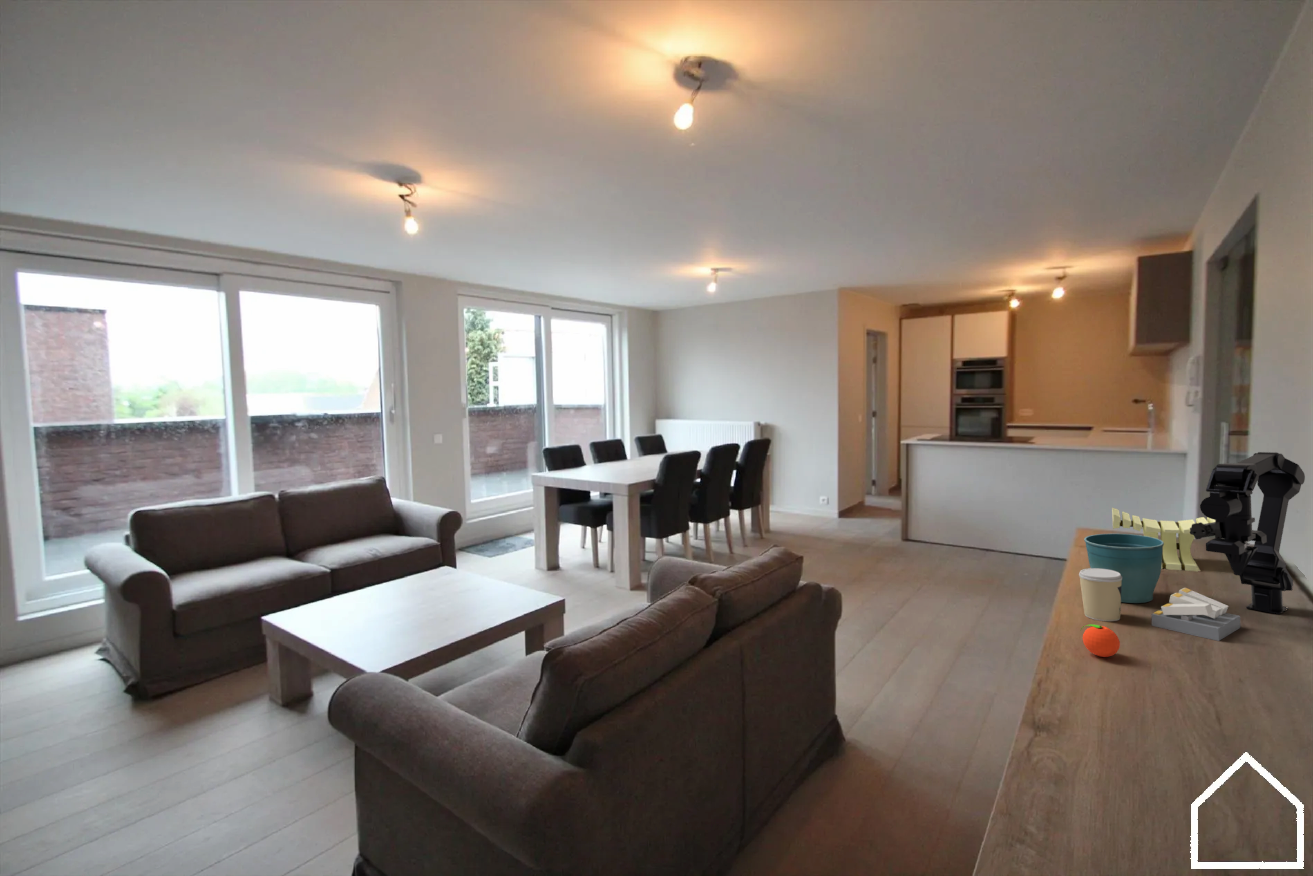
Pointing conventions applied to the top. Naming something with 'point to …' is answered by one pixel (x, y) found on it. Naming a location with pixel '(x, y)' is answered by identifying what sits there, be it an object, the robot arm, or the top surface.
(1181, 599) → the rocker middle
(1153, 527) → the slatted curved stool
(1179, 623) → the console
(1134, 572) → the flower pot
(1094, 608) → the coffee cup
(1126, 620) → the top surface
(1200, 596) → the block
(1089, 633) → the clementine
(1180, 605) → the block
